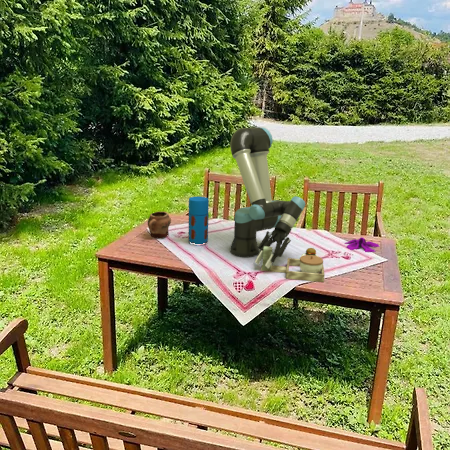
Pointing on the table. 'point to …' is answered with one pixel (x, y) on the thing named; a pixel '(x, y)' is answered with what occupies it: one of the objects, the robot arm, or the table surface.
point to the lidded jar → (311, 264)
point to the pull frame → (289, 274)
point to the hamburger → (310, 252)
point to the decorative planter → (159, 224)
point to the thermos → (198, 220)
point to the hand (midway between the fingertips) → (261, 265)
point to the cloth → (361, 245)
